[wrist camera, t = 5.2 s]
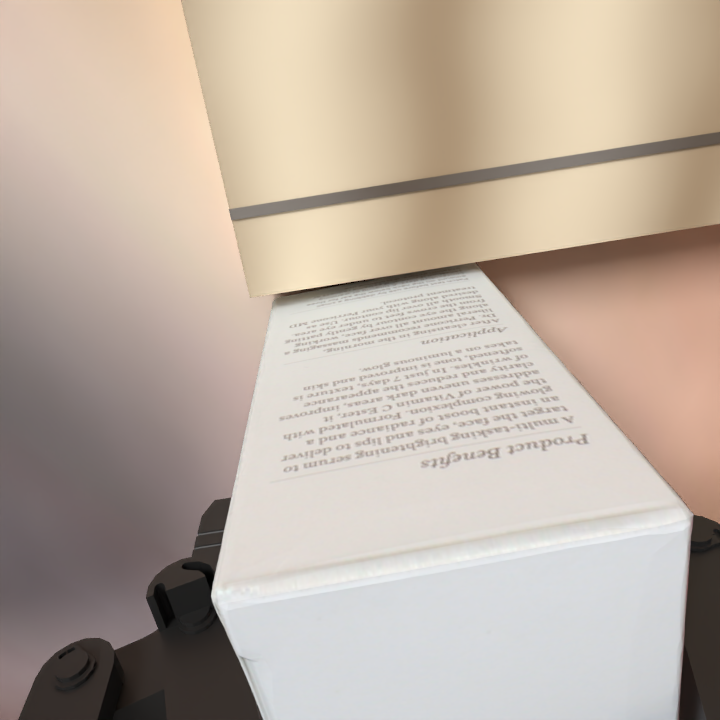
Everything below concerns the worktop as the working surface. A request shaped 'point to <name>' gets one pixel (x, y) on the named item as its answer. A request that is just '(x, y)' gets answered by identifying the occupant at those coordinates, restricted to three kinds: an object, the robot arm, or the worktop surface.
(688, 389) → the worktop surface
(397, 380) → the small box
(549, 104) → the board
